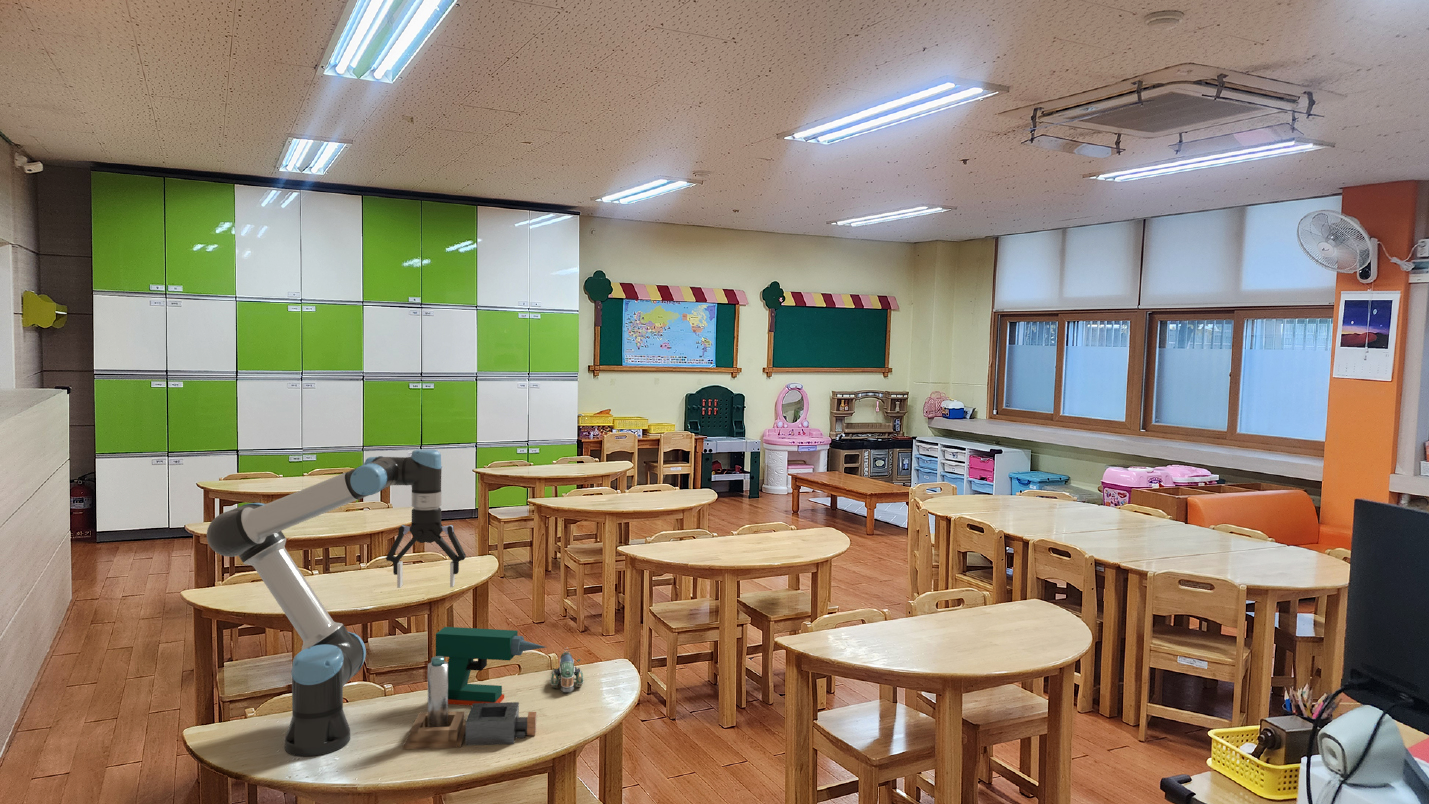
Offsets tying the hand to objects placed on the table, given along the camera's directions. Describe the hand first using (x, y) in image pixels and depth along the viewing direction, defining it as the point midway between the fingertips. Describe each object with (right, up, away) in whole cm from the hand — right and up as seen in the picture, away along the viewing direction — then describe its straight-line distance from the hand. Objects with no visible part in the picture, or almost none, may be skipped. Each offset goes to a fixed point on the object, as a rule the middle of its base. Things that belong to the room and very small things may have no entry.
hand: (426, 586), depth 233 cm
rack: (+5, -37, -7) cm, 38 cm away
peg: (+5, -36, -7) cm, 37 cm away
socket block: (+20, -38, -6) cm, 43 cm away
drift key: (+26, -37, -5) cm, 46 cm away
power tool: (+14, -37, +16) cm, 42 cm away
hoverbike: (+32, -36, +34) cm, 59 cm away
